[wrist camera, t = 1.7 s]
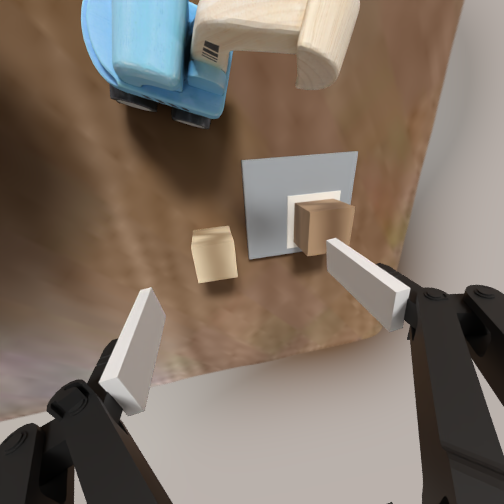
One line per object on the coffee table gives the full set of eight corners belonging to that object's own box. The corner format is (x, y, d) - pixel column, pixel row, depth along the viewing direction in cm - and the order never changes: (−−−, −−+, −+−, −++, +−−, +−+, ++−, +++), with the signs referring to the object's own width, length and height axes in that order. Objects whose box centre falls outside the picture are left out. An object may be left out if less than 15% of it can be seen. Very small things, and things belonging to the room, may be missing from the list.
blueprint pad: (248, 257, 33) (249, 259, 33) (241, 160, 27) (242, 160, 26) (341, 243, 36) (345, 245, 35) (354, 151, 30) (359, 151, 29)
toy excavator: (260, 146, 27) (332, 145, 12) (111, 103, 22) (-84, 8, 7) (280, 63, 24) (414, -84, 9) (110, -8, 19) (-248, -606, 4)
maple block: (199, 261, 32) (198, 283, 27) (193, 230, 30) (191, 247, 25) (232, 256, 33) (237, 276, 28) (228, 225, 31) (233, 241, 25)
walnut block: (293, 241, 33) (307, 256, 28) (294, 202, 30) (310, 212, 26) (329, 236, 34) (348, 249, 29) (333, 198, 31) (355, 206, 27)
